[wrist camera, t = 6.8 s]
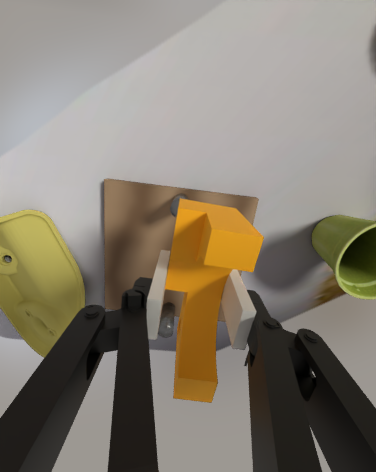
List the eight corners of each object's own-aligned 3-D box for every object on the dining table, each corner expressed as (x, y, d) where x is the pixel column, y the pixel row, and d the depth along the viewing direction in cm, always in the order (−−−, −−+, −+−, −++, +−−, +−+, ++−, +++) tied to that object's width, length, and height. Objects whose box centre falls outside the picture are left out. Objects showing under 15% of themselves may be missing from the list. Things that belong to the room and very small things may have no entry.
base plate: (256, 197, 29) (258, 199, 28) (228, 317, 36) (229, 322, 35) (107, 178, 29) (104, 179, 28) (107, 304, 35) (104, 308, 34)
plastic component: (-47, 240, 29) (-25, 223, 24) (14, 221, 36) (42, 204, 30) (34, 356, 34) (68, 364, 29) (75, 321, 40) (110, 322, 35)
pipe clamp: (180, 198, 16) (175, 222, 10) (235, 208, 17) (263, 237, 11) (159, 324, 20) (146, 395, 14) (204, 330, 21) (211, 402, 15)
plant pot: (335, 274, 33) (383, 312, 25) (285, 248, 32) (318, 279, 24) (380, 222, 30) (450, 245, 22) (327, 191, 29) (381, 203, 21)
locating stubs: (189, 194, 28) (189, 201, 23) (174, 313, 34) (172, 338, 30) (174, 192, 28) (171, 199, 23) (162, 312, 34) (157, 336, 30)
